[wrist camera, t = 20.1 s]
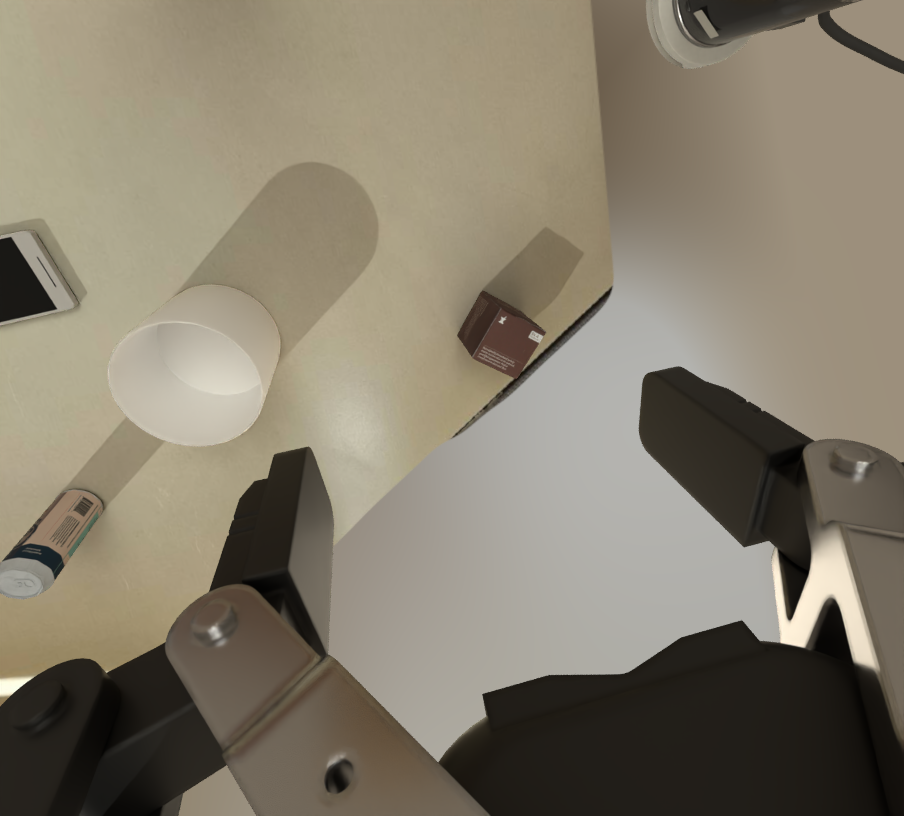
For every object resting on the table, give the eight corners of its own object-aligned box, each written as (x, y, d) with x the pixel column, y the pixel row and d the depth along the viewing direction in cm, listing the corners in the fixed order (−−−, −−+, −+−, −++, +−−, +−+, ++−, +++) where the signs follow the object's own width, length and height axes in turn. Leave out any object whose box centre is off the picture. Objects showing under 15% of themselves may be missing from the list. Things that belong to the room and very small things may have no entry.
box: (455, 334, 53) (470, 357, 47) (481, 288, 51) (500, 306, 45) (497, 355, 56) (516, 380, 49) (524, 312, 54) (548, 332, 47)
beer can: (52, 486, 52) (-21, 567, 42) (100, 486, 53) (41, 565, 43) (62, 519, 54) (-5, 604, 44) (108, 518, 55) (53, 600, 45)
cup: (135, 342, 47) (75, 394, 36) (204, 258, 44) (161, 287, 34) (237, 408, 52) (211, 469, 42) (304, 336, 50) (293, 382, 39)
